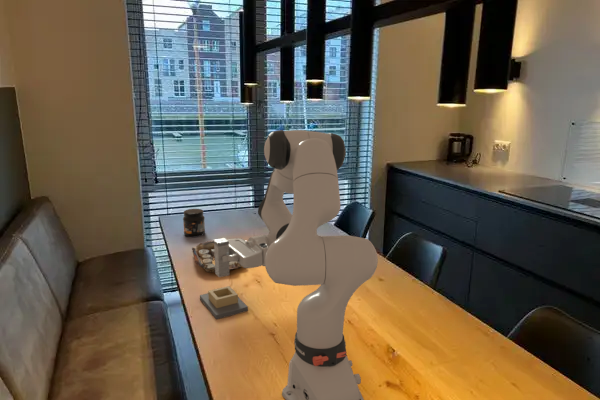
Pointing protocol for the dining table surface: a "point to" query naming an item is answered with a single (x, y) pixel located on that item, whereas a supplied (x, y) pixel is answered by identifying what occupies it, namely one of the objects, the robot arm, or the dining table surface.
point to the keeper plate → (223, 302)
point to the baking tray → (209, 256)
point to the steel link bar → (220, 249)
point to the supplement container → (194, 222)
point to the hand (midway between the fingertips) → (219, 256)
